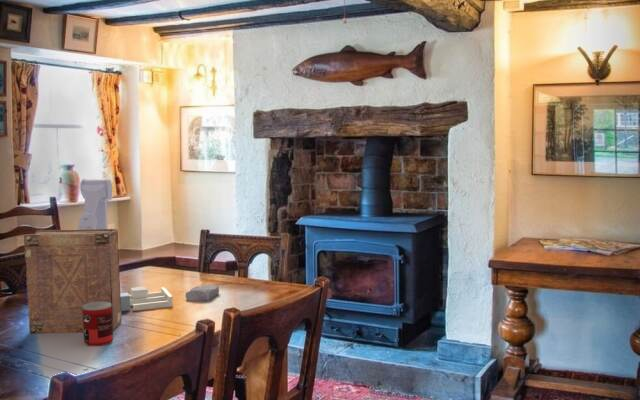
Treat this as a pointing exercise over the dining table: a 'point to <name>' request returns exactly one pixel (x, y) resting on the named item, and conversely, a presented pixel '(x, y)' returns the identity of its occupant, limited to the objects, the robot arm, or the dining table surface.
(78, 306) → the book
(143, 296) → the cream cube
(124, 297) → the tethered block
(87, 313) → the canned food
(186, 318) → the dining table surface
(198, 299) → the stone block
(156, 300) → the lane rack
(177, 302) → the dining table surface
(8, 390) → the dining table surface
